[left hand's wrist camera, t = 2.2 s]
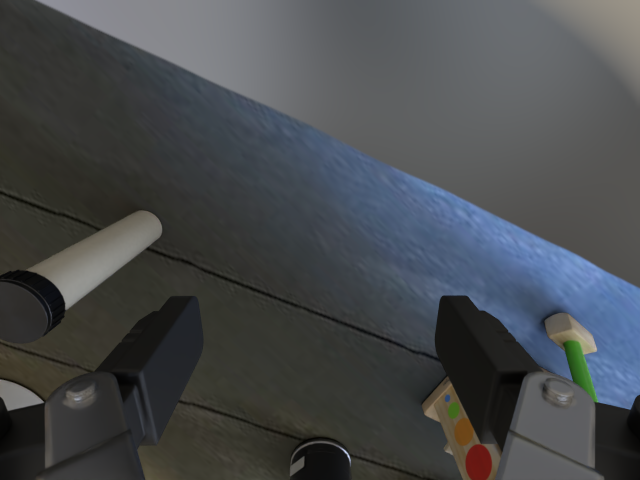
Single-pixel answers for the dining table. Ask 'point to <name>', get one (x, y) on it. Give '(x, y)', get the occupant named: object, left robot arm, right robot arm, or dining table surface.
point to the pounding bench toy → (447, 409)
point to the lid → (28, 306)
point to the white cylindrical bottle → (99, 255)
